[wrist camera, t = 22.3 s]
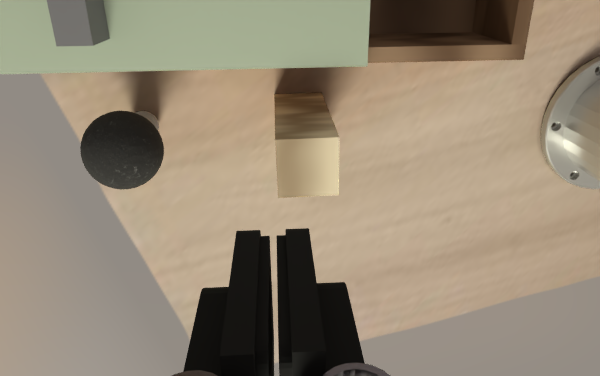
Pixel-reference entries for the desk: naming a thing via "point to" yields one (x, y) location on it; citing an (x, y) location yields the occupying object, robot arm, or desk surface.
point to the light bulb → (123, 149)
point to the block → (305, 146)
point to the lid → (181, 35)
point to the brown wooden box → (448, 30)
